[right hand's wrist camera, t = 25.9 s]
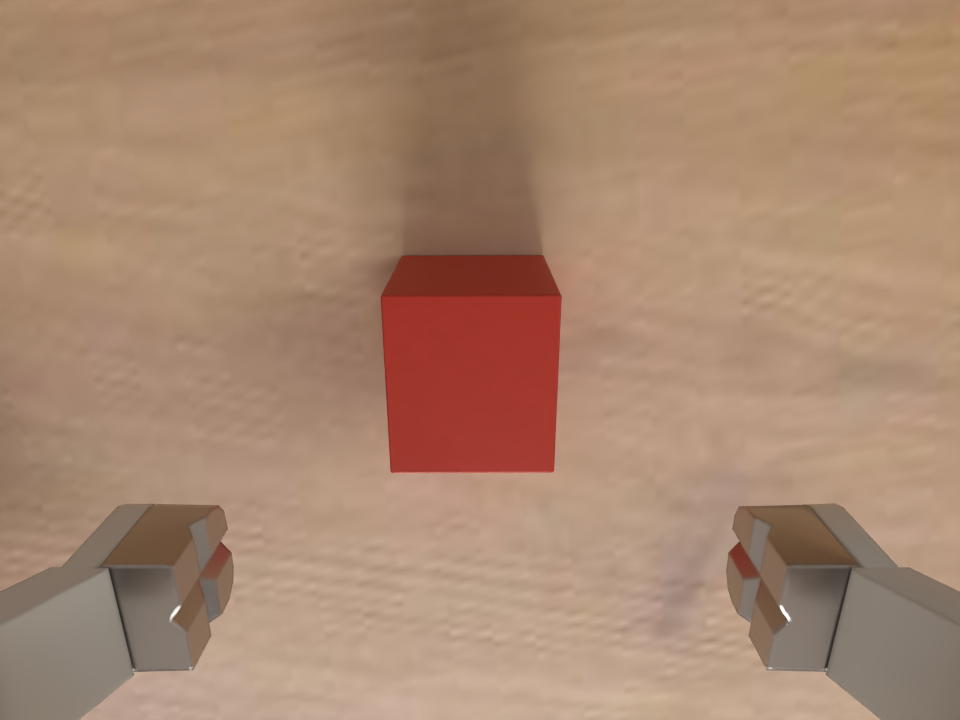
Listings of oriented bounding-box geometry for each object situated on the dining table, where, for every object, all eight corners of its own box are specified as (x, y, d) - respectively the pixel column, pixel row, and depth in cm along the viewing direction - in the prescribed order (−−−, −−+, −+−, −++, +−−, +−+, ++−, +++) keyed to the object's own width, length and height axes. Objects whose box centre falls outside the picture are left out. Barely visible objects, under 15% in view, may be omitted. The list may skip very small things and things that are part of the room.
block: (539, 400, 21) (554, 473, 17) (407, 401, 21) (390, 473, 17) (543, 255, 20) (561, 295, 15) (401, 255, 20) (380, 295, 15)
